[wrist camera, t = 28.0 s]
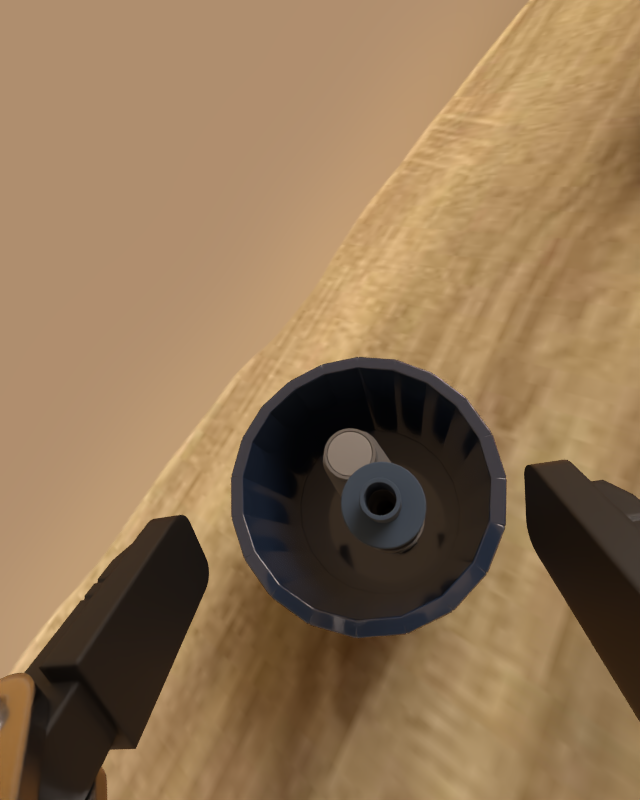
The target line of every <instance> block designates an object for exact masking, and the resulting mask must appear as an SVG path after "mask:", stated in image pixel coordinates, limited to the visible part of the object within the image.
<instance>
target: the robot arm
mask: <svg viewBox="0 0 640 800" xmlns="http://www.w3.org/2000/svg"><path fill="white" fill-rule="evenodd" d="M524 478H525V501H526V522H527V529H528V533H529V536H530V540H531V542H532V545H533V547H534V549H535V551H536V553H537V555H538V556H539V558H540V560H541V561H542V563H543V565H544V566H545V568H546V569H547V571H548V573H549V574H550V576H551V578H552V579H553V581H554V583H555V584H556V586H557V587H558V589H559V591H560V592H561V594H562V596H563V597H564V599H565V600H566V602H567V604H568V605H569V607H570V609H571V610H572V612H573V614H574V615H575V617H576V618H577V620H578V622H579V623H580V625H581V627H582V628H583V630H584V632H585V633H586V635H587V636H588V638H589V640H590V641H591V643H592V645H593V646H594V648H595V649H596V651H597V653H598V654H599V656H600V658H601V659H602V661H603V663H604V664H605V666H606V667H607V669H608V671H609V672H610V674H611V676H612V677H613V679H614V680H615V682H616V684H617V685H618V687H619V689H620V690H621V692H622V694H623V695H624V697H625V698H626V700H627V702H628V703H629V705H630V707H631V708H632V710H633V712H634V713H635V715H636V716H637V718H638V720H639V721H640V500H639V499H638V498H637V497H636V496H635V495H633V494H631V493H629V492H627V491H625V490H623V489H621V488H619V487H617V486H615V485H613V484H611V483H608V482H606V481H604V480H599V481H590V480H589V479H588V478H587V477H586V476H585V475H584V474H583V473H582V472H580V471H579V470H578V469H577V468H576V467H575V466H574V465H573V464H572V463H571V462H570V461H568V460H559V461H552V462H546V463H539V464H532V465H527V466H526V467H525V472H524ZM208 578H209V567H208V562H207V559H206V557H205V555H204V553H203V550H202V548H201V546H200V544H199V541H198V539H197V537H196V535H195V533H194V530H193V528H192V526H191V524H190V522H189V520H188V518H187V517H186V516H184V515H178V516H171V517H164V518H157V519H153V520H151V521H150V522H149V523H148V524H147V525H146V526H145V528H144V529H143V530H142V532H141V533H140V534H139V535H138V537H137V538H136V539H135V541H134V542H133V543H132V544H131V545H130V546H129V547H128V548H126V549H125V550H124V551H123V552H122V553H121V554H119V555H118V556H117V557H116V558H115V559H114V560H113V561H112V562H111V563H110V564H109V566H108V567H107V568H106V569H105V571H104V572H103V573H102V575H101V576H100V577H99V578H98V583H95V584H94V585H93V586H92V587H91V589H90V590H89V591H88V592H87V594H86V595H85V599H84V600H82V601H80V603H79V604H78V605H77V607H76V608H75V609H74V610H73V612H72V613H71V614H70V615H69V617H68V618H67V619H66V621H65V622H64V623H63V624H62V626H61V627H60V628H59V629H58V631H57V632H56V633H55V635H54V636H53V637H52V638H51V640H50V641H49V642H48V644H47V645H46V646H45V647H44V649H43V650H42V651H41V652H40V654H39V655H38V656H37V658H36V659H35V660H34V661H33V663H32V664H31V665H30V666H29V668H28V669H27V670H26V671H25V673H16V674H12V675H9V676H6V677H4V678H1V679H0V800H107V779H106V774H105V771H104V769H103V768H102V767H101V766H102V764H103V762H104V760H105V758H106V756H107V754H108V752H109V750H111V749H136V747H137V745H138V742H139V740H140V738H141V736H142V733H143V731H144V729H145V726H146V724H147V722H148V720H149V717H150V715H151V713H152V710H153V708H154V706H155V704H156V701H157V699H158V697H159V695H160V692H161V690H162V688H163V685H164V683H165V681H166V679H167V676H168V674H169V672H170V669H171V667H172V665H173V663H174V660H175V658H176V656H177V654H178V651H179V649H180V647H181V644H182V642H183V640H184V638H185V635H186V633H187V631H188V628H189V626H190V624H191V622H192V619H193V617H194V615H195V613H196V610H197V608H198V606H199V603H200V601H201V599H202V597H203V594H204V592H205V590H206V587H207V584H208Z"/></svg>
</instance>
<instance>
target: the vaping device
mask: <svg viewBox="0 0 640 800" xmlns="http://www.w3.org/2000/svg"><path fill="white" fill-rule="evenodd" d="M323 466H324V469H325V471H326V473H327V475H328V477H329V478H330V480H331V481H332V483H333V485H334V487H335V488H336V490H337V492H338V493H339V495H340V497H341V512H342V516H343V519H344V522H345V524H346V526H347V527H348V529H349V530H350V532H351V533H352V534H353V535H354V536H355V537H356V538H357V539H358V540H360V541H361V542H362V543H364V544H366V545H368V546H371V547H373V548H374V549H376V550H378V551H380V552H384V553H397V552H398V553H399V554H401V553H403V552H405V551H407V550H408V549H410V548H411V547H413V546H414V545H416V544H417V543H418V539H419V537H420V536H421V533H422V531H423V528H424V522H425V515H426V499H425V494H424V492H423V489H422V487H421V485H420V483H419V482H418V480H417V479H416V478H415V477H414V475H413V474H411V473H410V472H409V471H408V470H407V469H405V468H403V467H402V466H399V465H397V464H394V463H391V462H390V460H389V459H388V457H387V456H386V454H385V453H384V451H383V450H382V449H381V447H380V446H379V444H378V443H377V441H376V440H375V439H374V437H373V436H371V435H370V434H368V433H367V432H364V431H361V430H358V429H354V428H348V429H343V430H340V431H338V432H336V433H335V434H333V435H332V436H331V437H330V438H329V440H328V441H327V443H326V446H325V449H324V455H323Z"/></svg>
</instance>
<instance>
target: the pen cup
mask: <svg viewBox="0 0 640 800" xmlns="http://www.w3.org/2000/svg"><path fill="white" fill-rule="evenodd" d="M348 428H354V429H358V430H361V431H364V432H367V433H368V434H370V435H371V436H373V437H374V439H375V440H376V441H377V443H378V444H379V446H380V447H381V449H382V450H383V451H384V453H385V454H386V456H387V457H388V459H389V460H390V462H391V463H394V464H397V465H399V466H402V467H403V468H405V469H407V470H408V471H409V472H410V473H411V474H413V475H414V477H415V478H416V479H417V480H418V482H419V483H420V485H421V487H422V489H423V492H424V494H425V499H426V515H425V522H424V528H423V531H422V533H421V536H420V537H419V539H418V543H417V544H416V545H414V546H413V547H411V548H410V549H408V550H407V551H405V552H403V553H401V554H399V553H398V552H397V553H384V552H380V551H378V550H376V549H374V548H373V547H371V546H368V545H366V544H364V543H362V542H361V541H360V540H358V539H357V538H356V537H355V536H354V535H353V534H352V533H351V532H350V530H349V529H348V527H347V526H346V524H345V522H344V519H343V516H342V512H341V497H340V495H339V493H338V492H337V490H336V488H335V487H334V485H333V483H332V481H331V480H330V478H329V477H328V475H327V473H326V471H325V469H324V466H323V455H324V449H325V446H326V443H327V441H328V440H329V438H330V437H331V436H332V435H333V434H335V433H336V432H338V431H340V430H343V429H348ZM491 434H492V433H491V431H490V430H489V428H488V427H487V426H486V424H485V423H484V422H483V420H482V419H481V417H480V416H479V415H478V413H477V412H476V410H475V409H474V408H473V406H472V405H471V404H470V402H469V401H468V400H467V399H466V398H465V397H464V396H463V395H461V394H460V393H459V392H457V391H456V390H455V389H453V388H452V387H451V386H449V385H448V384H447V383H445V382H444V381H443V380H441V379H440V378H439V377H437V376H436V375H435V374H433V373H431V372H428V371H425V370H423V369H420V368H417V367H415V366H412V365H409V364H406V363H404V362H401V361H398V360H394V359H380V358H366V357H359V358H358V357H356V358H351V359H346V360H341V361H336V362H332V363H327V364H323V365H320V366H318V367H316V368H314V369H312V370H310V371H309V372H307V373H305V374H303V375H301V376H299V377H297V378H295V379H293V380H291V381H290V382H288V383H287V384H286V385H285V386H284V387H283V388H282V389H280V390H279V391H278V392H277V393H276V394H275V395H274V396H273V397H272V398H271V399H270V400H269V401H268V402H266V403H265V404H264V405H263V406H262V407H261V409H260V411H259V412H258V414H257V415H256V417H255V419H254V420H253V422H252V424H251V425H250V427H249V428H248V430H247V432H246V433H245V435H244V436H243V438H242V439H243V440H242V441H241V444H240V448H239V451H238V455H237V459H236V462H235V466H234V469H233V473H232V477H231V516H232V521H233V524H234V527H235V531H236V534H237V537H238V540H239V544H240V547H241V550H242V553H243V556H244V558H245V561H246V562H247V564H248V565H249V567H250V568H251V570H252V571H253V572H254V574H255V575H256V577H257V578H258V580H259V581H260V582H261V584H262V585H263V587H264V588H265V589H266V591H267V592H268V594H269V595H270V596H271V597H272V598H273V599H274V600H276V601H277V602H278V603H280V604H281V605H283V606H284V607H285V608H287V609H288V610H289V611H291V612H292V613H294V614H295V615H296V616H298V617H299V618H300V619H302V620H303V621H305V622H306V623H307V624H309V623H310V625H311V626H315V627H318V628H322V629H325V630H329V631H332V632H336V633H339V634H343V635H346V636H349V637H353V638H356V637H357V638H370V637H382V636H394V635H405V634H406V633H411V632H413V631H415V630H417V629H419V628H421V627H423V626H425V625H427V624H429V623H431V622H433V621H435V620H437V619H439V618H441V617H443V616H445V615H447V614H449V613H451V612H452V610H455V609H456V608H457V607H458V606H459V604H460V603H461V602H462V601H463V600H464V599H465V598H466V597H467V596H468V595H469V593H470V592H471V591H472V590H473V589H474V588H475V587H476V586H477V585H478V584H479V582H480V581H481V580H482V579H483V578H484V577H485V576H486V573H487V572H488V571H489V568H490V566H491V563H492V561H493V558H494V555H495V553H496V550H497V548H498V545H499V543H500V540H501V538H502V535H503V532H504V530H505V527H504V526H505V525H506V489H507V480H506V474H505V471H504V468H503V465H502V462H501V459H500V456H499V453H498V449H497V446H496V443H495V440H494V437H493V435H491Z"/></svg>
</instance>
